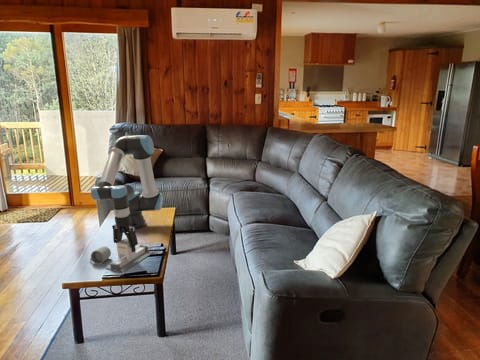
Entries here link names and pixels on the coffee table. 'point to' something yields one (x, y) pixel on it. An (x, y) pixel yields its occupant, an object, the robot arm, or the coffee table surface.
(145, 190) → the robot arm
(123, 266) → the rail base
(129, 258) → the module
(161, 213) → the coffee table surface
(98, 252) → the ceramic mug
